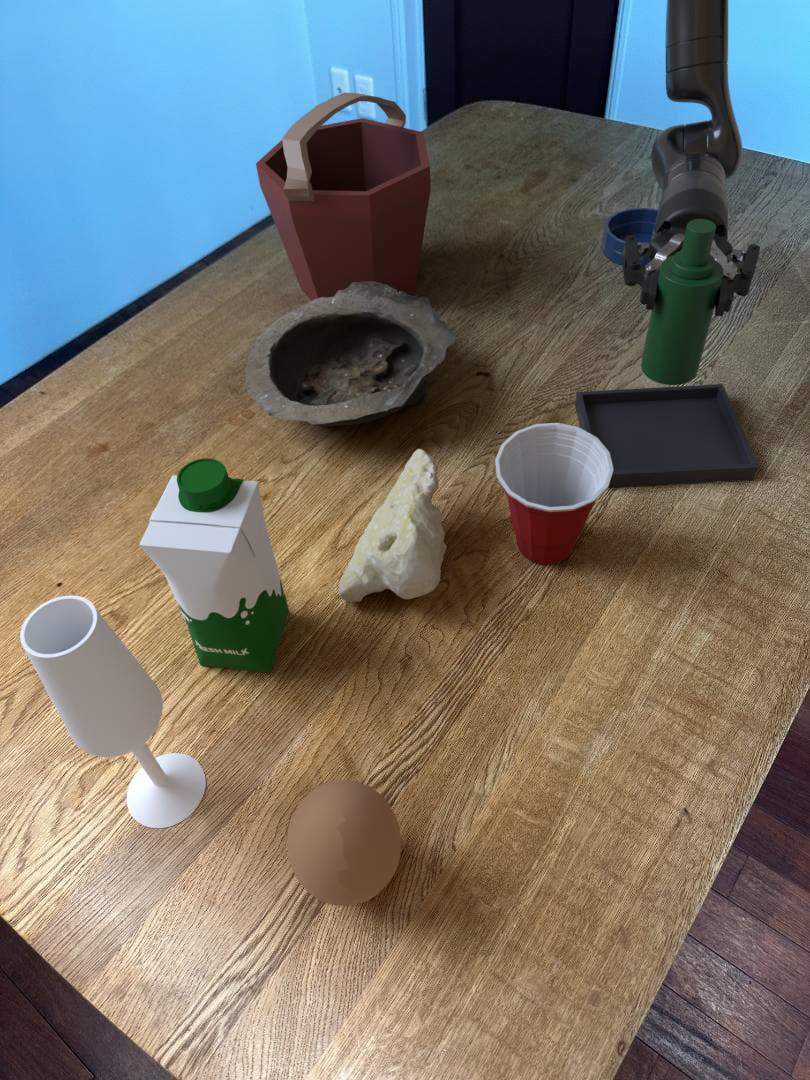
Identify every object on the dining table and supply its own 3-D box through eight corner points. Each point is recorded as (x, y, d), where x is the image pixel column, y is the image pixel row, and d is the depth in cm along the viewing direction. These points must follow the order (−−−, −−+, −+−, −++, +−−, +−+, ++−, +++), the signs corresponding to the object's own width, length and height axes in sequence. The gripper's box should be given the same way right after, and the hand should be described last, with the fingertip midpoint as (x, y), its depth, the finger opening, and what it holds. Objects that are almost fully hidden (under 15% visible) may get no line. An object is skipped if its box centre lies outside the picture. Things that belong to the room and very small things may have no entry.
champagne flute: (213, 752, 71) (125, 582, 53) (197, 829, 66) (95, 672, 48) (137, 752, 71) (25, 583, 53) (117, 828, 67) (-14, 672, 49)
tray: (718, 397, 97) (722, 383, 96) (753, 480, 88) (758, 467, 87) (574, 404, 98) (576, 391, 97) (594, 488, 89) (596, 475, 87)
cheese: (398, 657, 78) (506, 549, 74) (339, 622, 75) (449, 506, 71) (376, 573, 91) (466, 477, 87) (325, 540, 88) (417, 438, 84)
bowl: (668, 230, 123) (673, 205, 120) (686, 269, 116) (692, 243, 113) (596, 235, 124) (599, 210, 121) (608, 274, 116) (612, 248, 113)
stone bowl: (487, 367, 103) (486, 307, 96) (377, 500, 92) (367, 443, 84) (332, 312, 113) (320, 253, 106) (215, 426, 101) (193, 369, 94)
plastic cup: (486, 581, 81) (488, 498, 72) (497, 503, 88) (500, 418, 79) (596, 592, 79) (613, 509, 70) (599, 512, 86) (614, 426, 77)
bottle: (690, 349, 91) (725, 208, 78) (703, 383, 87) (742, 240, 74) (636, 352, 91) (662, 211, 78) (646, 386, 87) (676, 244, 74)
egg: (407, 816, 66) (398, 753, 57) (402, 925, 60) (392, 873, 52) (306, 814, 66) (283, 751, 58) (292, 922, 61) (264, 869, 53)
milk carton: (300, 605, 81) (262, 458, 66) (277, 684, 75) (229, 542, 60) (216, 597, 82) (160, 451, 67) (187, 674, 76) (118, 532, 61)
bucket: (339, 351, 108) (312, 162, 89) (244, 289, 119) (202, 110, 101) (468, 277, 118) (469, 93, 99) (370, 226, 129) (353, 53, 111)
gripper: (630, 183, 89) (616, 264, 79) (769, 191, 86) (774, 277, 76) (620, 246, 95) (606, 330, 84) (750, 256, 92) (752, 344, 81)
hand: (686, 304), depth 80 cm, fingers closed on bottle, 6 cm apart
